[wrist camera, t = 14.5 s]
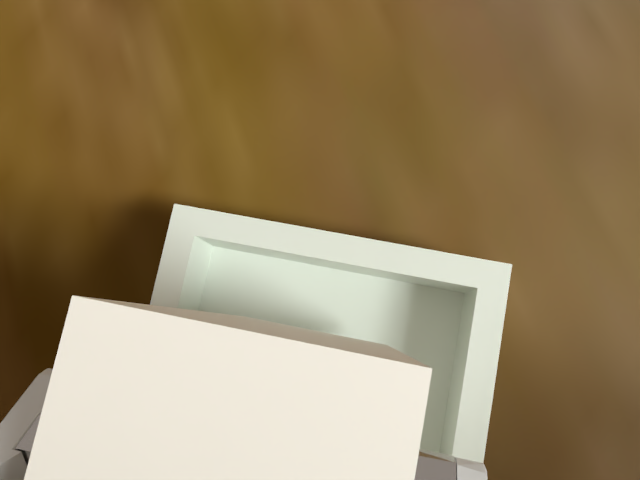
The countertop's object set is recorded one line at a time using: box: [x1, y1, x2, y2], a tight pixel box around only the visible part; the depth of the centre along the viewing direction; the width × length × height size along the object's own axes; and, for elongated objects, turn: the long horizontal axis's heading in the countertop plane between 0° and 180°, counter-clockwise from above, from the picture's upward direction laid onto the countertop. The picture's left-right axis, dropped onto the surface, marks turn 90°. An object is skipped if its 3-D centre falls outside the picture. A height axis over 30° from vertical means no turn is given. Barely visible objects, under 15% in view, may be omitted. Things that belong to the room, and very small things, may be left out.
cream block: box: [24, 295, 433, 480], centre depth 13 cm, size 5×5×12 cm
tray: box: [150, 204, 512, 463], centre depth 20 cm, size 12×12×4 cm
